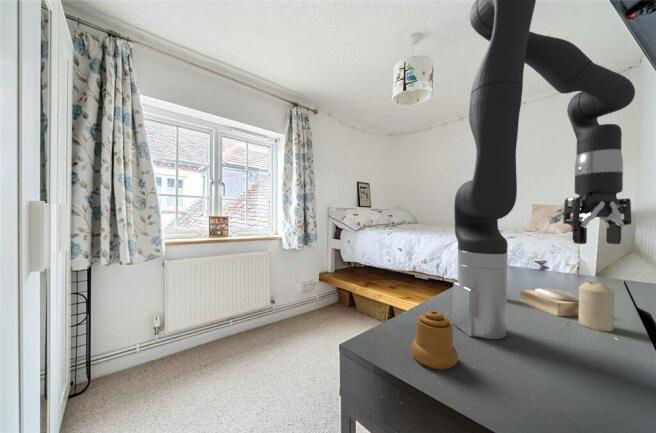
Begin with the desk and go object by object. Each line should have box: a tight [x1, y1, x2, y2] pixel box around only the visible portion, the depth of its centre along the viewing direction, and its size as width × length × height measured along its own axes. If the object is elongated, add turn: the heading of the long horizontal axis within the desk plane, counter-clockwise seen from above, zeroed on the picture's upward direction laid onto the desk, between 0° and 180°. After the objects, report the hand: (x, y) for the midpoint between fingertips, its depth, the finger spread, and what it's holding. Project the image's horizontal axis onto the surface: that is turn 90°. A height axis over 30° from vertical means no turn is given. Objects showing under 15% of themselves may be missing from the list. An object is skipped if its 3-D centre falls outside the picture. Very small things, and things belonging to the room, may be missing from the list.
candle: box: [578, 281, 615, 332], centre depth 58 cm, size 6×6×10 cm
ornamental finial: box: [410, 310, 459, 370], centre depth 44 cm, size 8×8×8 cm
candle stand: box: [519, 287, 579, 317], centre depth 70 cm, size 11×11×4 cm
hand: (596, 243), depth 58 cm, fingers open, 8 cm apart
